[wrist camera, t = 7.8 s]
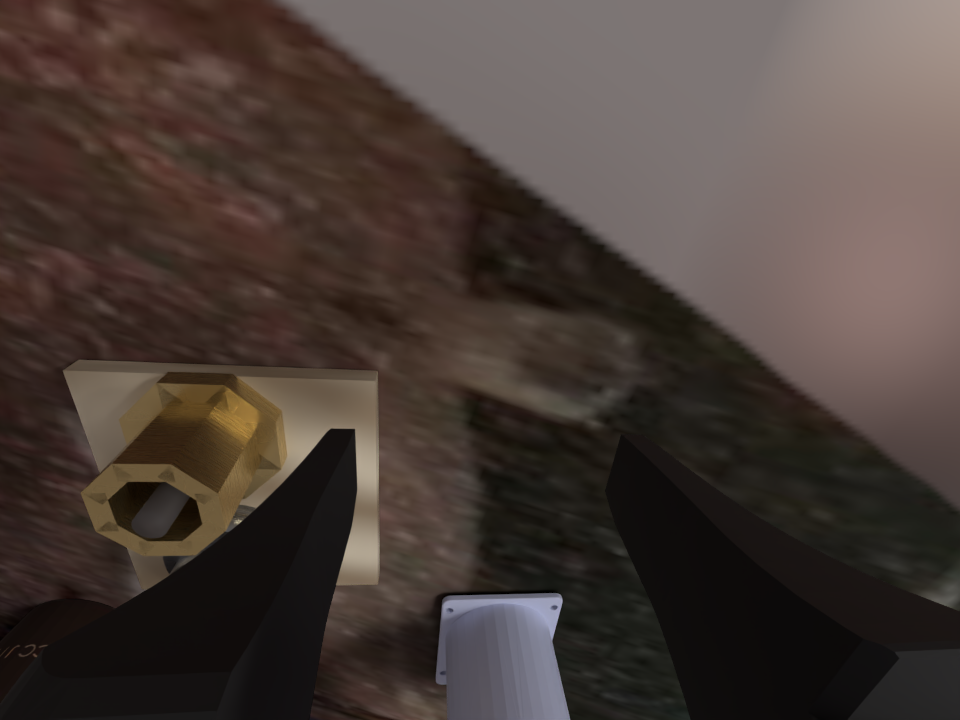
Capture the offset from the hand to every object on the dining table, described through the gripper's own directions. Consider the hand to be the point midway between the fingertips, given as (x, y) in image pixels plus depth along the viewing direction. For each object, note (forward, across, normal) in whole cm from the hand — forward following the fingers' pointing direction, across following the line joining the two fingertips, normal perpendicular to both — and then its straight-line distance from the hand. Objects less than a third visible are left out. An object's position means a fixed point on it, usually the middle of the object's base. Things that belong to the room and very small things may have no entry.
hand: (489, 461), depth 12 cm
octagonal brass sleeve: (+9, +12, +6) cm, 16 cm away
